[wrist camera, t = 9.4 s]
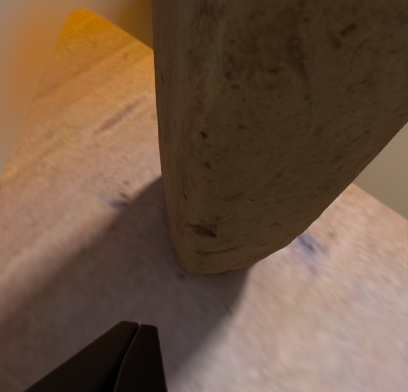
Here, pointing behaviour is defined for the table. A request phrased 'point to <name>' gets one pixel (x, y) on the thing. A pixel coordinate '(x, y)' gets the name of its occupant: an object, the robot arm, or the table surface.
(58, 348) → the table surface
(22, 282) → the table surface
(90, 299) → the table surface
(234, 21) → the brown stone
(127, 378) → the robot arm
